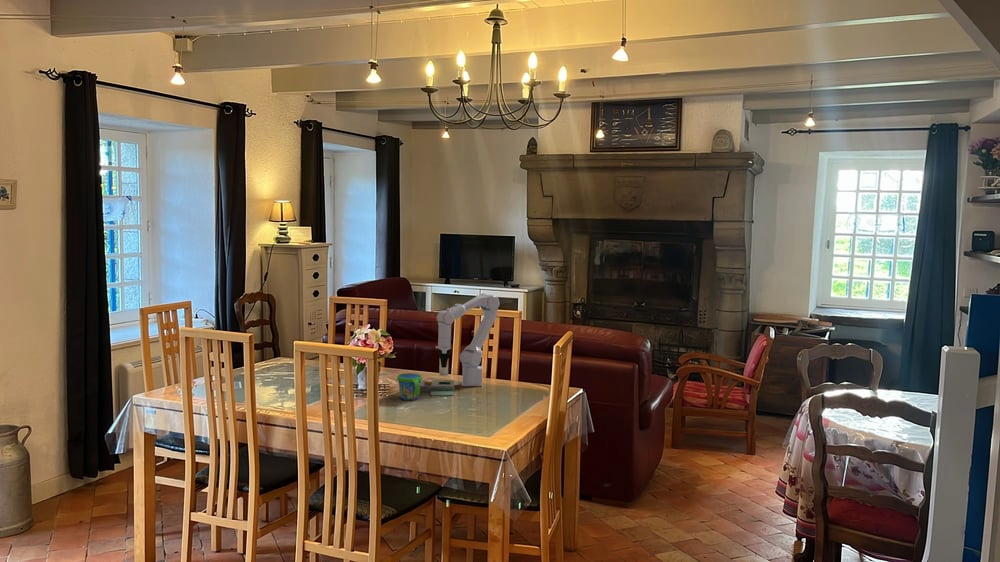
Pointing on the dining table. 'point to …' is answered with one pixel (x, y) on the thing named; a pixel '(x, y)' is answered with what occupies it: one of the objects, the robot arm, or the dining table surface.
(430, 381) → the plunger
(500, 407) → the dining table surface
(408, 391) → the snack cup
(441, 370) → the cylinder
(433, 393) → the mat
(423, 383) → the housing
